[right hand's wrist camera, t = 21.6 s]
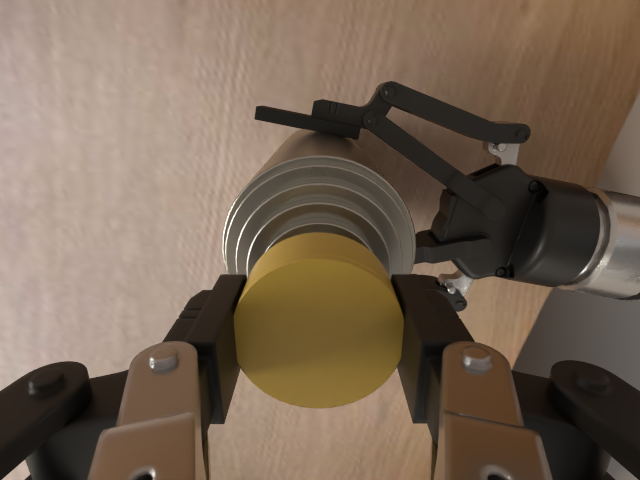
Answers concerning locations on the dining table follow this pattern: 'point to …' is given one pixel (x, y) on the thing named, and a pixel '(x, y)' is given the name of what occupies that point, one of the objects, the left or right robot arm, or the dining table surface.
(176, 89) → the dining table surface
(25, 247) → the dining table surface
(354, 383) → the cap
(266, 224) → the bottle
